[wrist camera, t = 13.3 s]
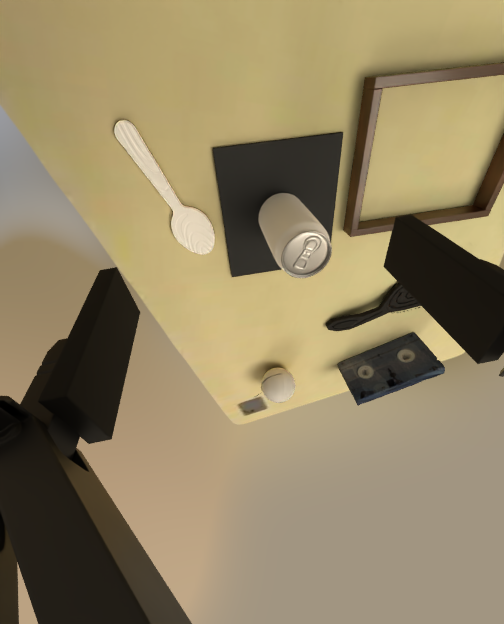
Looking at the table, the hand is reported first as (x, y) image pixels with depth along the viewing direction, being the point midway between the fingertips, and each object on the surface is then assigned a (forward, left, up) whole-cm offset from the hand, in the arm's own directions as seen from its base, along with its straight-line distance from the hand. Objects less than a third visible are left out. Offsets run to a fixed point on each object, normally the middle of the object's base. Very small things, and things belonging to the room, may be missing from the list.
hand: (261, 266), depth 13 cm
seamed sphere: (+44, +4, -27) cm, 52 cm away
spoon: (+4, -7, -27) cm, 28 cm away
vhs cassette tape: (+43, +29, -27) cm, 58 cm away
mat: (+8, +7, -27) cm, 29 cm away
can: (+8, +7, -26) cm, 28 cm away
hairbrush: (+28, +28, -27) cm, 48 cm away
